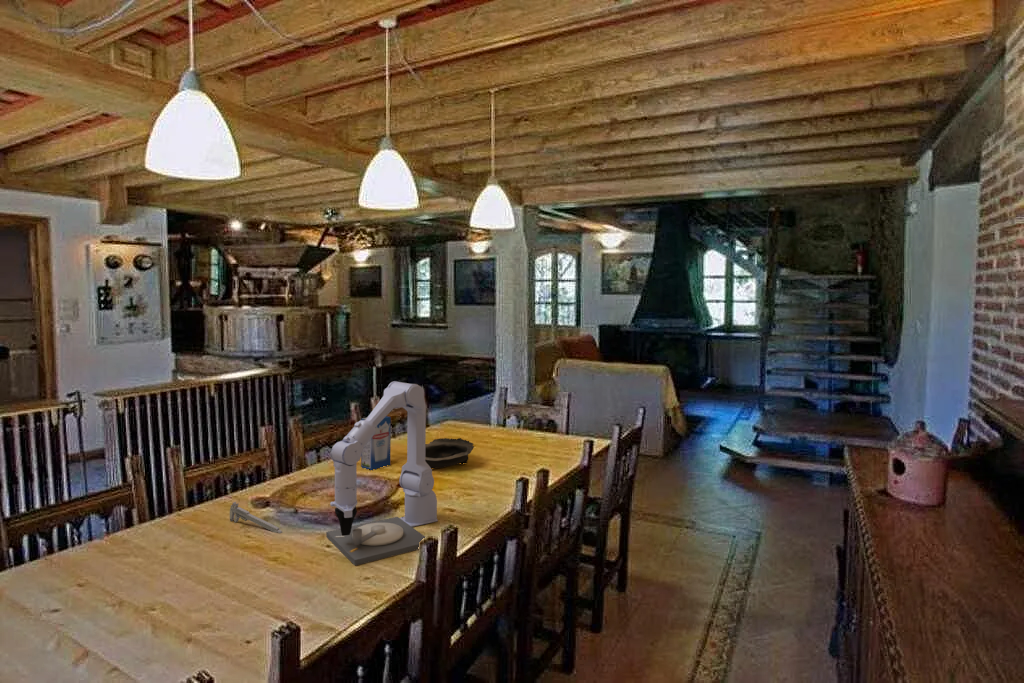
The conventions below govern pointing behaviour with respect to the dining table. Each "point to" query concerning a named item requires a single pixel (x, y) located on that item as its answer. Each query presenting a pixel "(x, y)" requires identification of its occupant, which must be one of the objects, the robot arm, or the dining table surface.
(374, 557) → the dial plate
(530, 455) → the dining table surface
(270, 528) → the caliper
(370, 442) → the milk carton
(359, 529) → the dial
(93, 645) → the dining table surface
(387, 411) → the robot arm
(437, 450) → the stone bowl
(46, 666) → the dining table surface
